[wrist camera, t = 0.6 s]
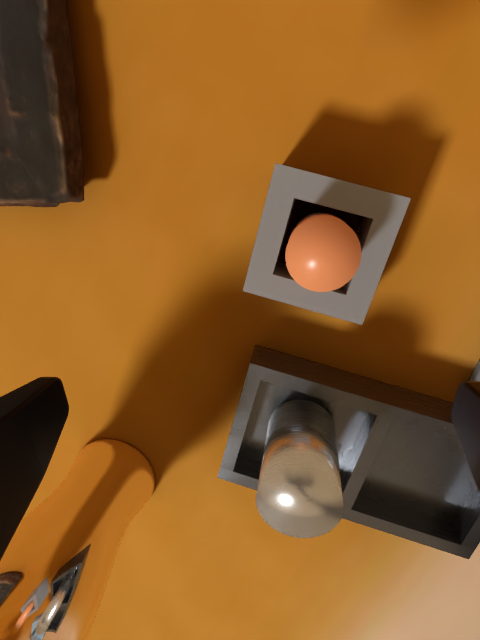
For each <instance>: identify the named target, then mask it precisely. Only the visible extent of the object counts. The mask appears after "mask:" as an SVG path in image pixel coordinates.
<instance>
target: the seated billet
mask: <svg viewBox="0 0 480 640" xmlns="http://www.w3.org/2000/svg"><path fill="white" fill-rule="evenodd" d="M256 504H257V508H258V511H259V513H260V515H261V516H262V518H263V519H264V520H265V522H266V523H267V524H268V525H270V526H271V527H272V528H274V529H275V530H277V531H279V532H281V533H283V534H285V535H288V536H292V537H298V538H311V537H317V536H320V535H323V534H325V533H327V532H329V531H330V530H332V529H333V528H334V527H335V526H336V525H337V524H338V523H339V521H340V519H341V517H342V515H343V510H344V504H343V495H342V487H341V478H340V469H339V460H338V451H337V443H336V434H335V426H334V422H333V419H332V417H331V416H330V414H329V413H328V412H327V411H326V410H325V409H324V408H323V407H321V406H320V405H318V404H316V403H314V402H311V401H307V400H292V401H288V402H286V403H284V404H282V405H280V406H279V407H277V408H276V409H275V410H274V412H273V413H272V415H271V416H270V419H269V423H268V429H267V435H266V441H265V447H264V453H263V459H262V465H261V471H260V477H259V483H258V488H257V494H256Z"/></svg>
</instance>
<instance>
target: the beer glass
mask: <svg viewBox="0 0 480 640" xmlns="http://www.w3.org/2000/svg"><path fill="white" fill-rule="evenodd" d="M154 485H155V477H154V473H153V470H152V467H151V465H150V464H149V462H148V461H147V459H146V458H145V457H144V456H143V455H142V454H141V453H140V452H139V451H138V450H137V449H135V448H134V447H132V446H130V445H128V444H126V443H124V442H121V441H118V440H112V439H101V440H96V441H93V442H91V443H89V444H88V445H86V446H85V447H84V448H83V449H82V450H81V451H80V453H79V454H78V456H77V457H76V459H75V461H74V463H73V465H72V466H71V468H70V470H69V472H68V474H67V475H66V477H65V478H64V480H63V481H62V482H61V484H60V485H59V486H58V487H57V488H56V489H55V491H54V492H53V493H52V494H51V495H50V496H49V497H47V498H46V499H45V500H44V501H43V502H42V503H41V504H39V505H38V506H37V507H36V508H35V509H34V510H32V511H31V512H30V513H29V514H28V515H26V516H25V517H24V518H23V519H22V520H21V522H20V524H19V526H18V528H17V530H16V532H15V534H14V536H13V537H12V539H11V541H10V543H9V545H8V547H7V549H6V551H5V553H4V555H3V557H2V559H1V561H0V640H87V637H88V635H89V633H90V631H91V628H92V625H93V623H94V620H95V617H96V615H97V612H98V609H99V607H100V604H101V601H102V598H103V595H104V592H105V589H106V586H107V583H108V580H109V577H110V574H111V571H112V567H113V564H114V561H115V558H116V555H117V552H118V549H119V546H120V544H121V541H122V539H123V536H124V534H125V532H126V530H127V528H128V526H129V525H130V523H131V522H132V520H133V519H134V517H135V516H136V515H137V514H138V512H139V511H140V510H141V509H142V508H143V506H144V505H145V504H146V503H147V501H148V500H149V498H150V497H151V495H152V493H153V490H154Z"/></svg>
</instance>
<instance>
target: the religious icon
mask: <svg viewBox="0 0 480 640" xmlns="http://www.w3.org/2000/svg"><path fill="white" fill-rule="evenodd" d="M83 200H84V182H83V157H82V147H81V134H80V120H79V114H78V107H77V101H76V83H75V70H74V62H73V56H72V42H71V36H70V29H69V25H68V16H67V6H66V0H0V206H34V207H56V206H58V205H59V204H60V203H64V202H69V201H70V202H82V201H83Z"/></svg>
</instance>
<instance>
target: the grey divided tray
mask: <svg viewBox="0 0 480 640" xmlns="http://www.w3.org/2000/svg"><path fill="white" fill-rule="evenodd" d="M292 400H307V401H311V402H314V403H316V404H318V405H320V406H321V407H323V408H324V409H325V410H326V411H327V412H328V413H329V414H330V416H331V417H332V419H333V422H334V426H335V434H336V443H337V451H338V460H339V469H340V478H341V487H342V495H343V504H344V510H343V515H342V517H341V518H343V519H347V520H350V521H353V522H356V523H359V524H362V525H365V526H368V527H371V528H374V529H377V530H380V531H383V532H387V533H390V534H393V535H396V536H399V537H402V538H405V539H408V540H411V541H414V542H417V543H420V544H423V545H427V546H430V547H433V548H436V549H439V550H442V551H445V552H448V553H451V554H454V555H457V556H460V557H463V558H467V559H469V558H470V556H471V555H472V553H473V552H474V550H475V549H476V547H477V546H478V544H479V542H480V492H479V490H478V488H477V486H476V484H475V481H474V479H473V476H472V474H471V471H470V468H469V466H468V463H467V460H466V457H465V455H464V452H463V449H462V447H461V444H460V441H459V439H458V436H457V433H456V430H455V428H454V425H453V422H452V417H451V412H452V407H453V404H454V403H451V402H447V401H444V400H440V399H437V398H434V397H430V396H427V395H424V394H420V393H417V392H413V391H410V390H407V389H403V388H400V387H397V386H393V385H390V384H386V383H383V382H380V381H376V380H373V379H369V378H366V377H363V376H359V375H356V374H353V373H349V372H346V371H342V370H339V369H336V368H332V367H329V366H326V365H322V364H319V363H315V362H312V361H309V360H305V359H302V358H299V357H295V356H292V355H288V354H285V353H282V352H278V351H275V350H271V349H268V348H265V347H261V346H258V345H256V346H255V349H254V352H253V355H252V358H251V361H250V365H249V368H248V372H247V375H246V379H245V382H244V386H243V389H242V393H241V396H240V400H239V403H238V407H237V410H236V414H235V417H234V421H233V424H232V428H231V431H230V435H229V438H228V442H227V446H226V449H225V453H224V456H223V460H222V463H221V467H220V470H219V474H218V477H217V478H220V479H224V480H227V481H230V482H233V483H236V484H239V485H242V486H245V487H248V488H251V489H254V490H257V488H258V483H259V477H260V471H261V465H262V459H263V453H264V447H265V441H266V435H267V429H268V423H269V419H270V416H271V415H272V413H273V412H274V410H275V409H276V408H277V407H279V406H280V405H282V404H284V403H286V402H288V401H292Z"/></svg>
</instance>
